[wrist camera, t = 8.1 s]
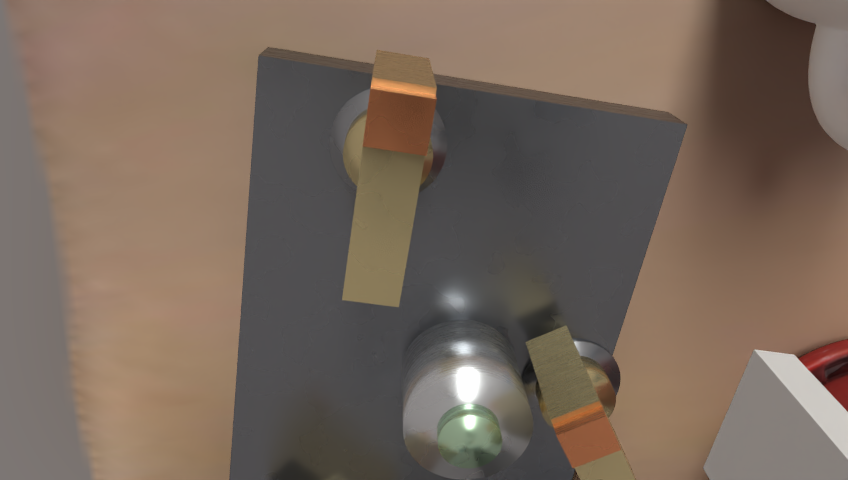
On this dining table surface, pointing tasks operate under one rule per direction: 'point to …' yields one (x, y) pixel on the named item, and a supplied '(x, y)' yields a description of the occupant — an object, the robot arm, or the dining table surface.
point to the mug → (826, 61)
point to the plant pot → (830, 369)
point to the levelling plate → (434, 277)
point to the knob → (388, 175)
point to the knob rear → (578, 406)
